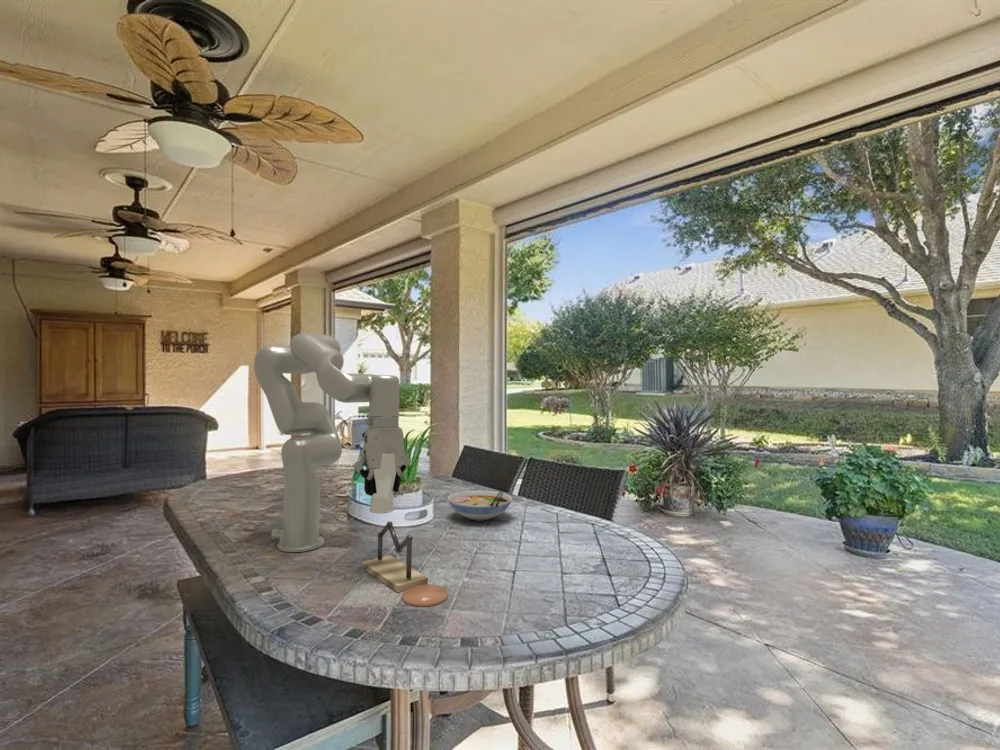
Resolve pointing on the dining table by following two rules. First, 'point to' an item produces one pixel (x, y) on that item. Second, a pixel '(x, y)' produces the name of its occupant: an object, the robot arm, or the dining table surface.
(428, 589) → the terracotta coaster
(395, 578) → the wire board
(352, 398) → the robot arm
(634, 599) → the dining table surface
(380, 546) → the bent wire
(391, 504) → the beer glass
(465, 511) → the ramen bowl
